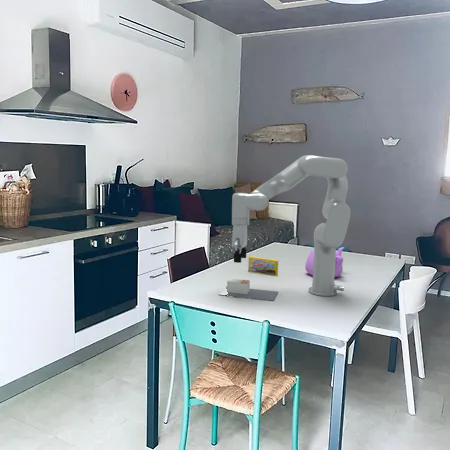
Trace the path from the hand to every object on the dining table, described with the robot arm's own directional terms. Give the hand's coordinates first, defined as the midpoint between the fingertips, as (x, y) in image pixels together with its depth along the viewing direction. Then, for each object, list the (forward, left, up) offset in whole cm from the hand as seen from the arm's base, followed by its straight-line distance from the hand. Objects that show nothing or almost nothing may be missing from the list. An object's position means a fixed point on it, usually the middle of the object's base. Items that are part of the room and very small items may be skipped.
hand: (240, 260), depth 203 cm
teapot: (-35, -47, -15) cm, 60 cm away
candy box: (-4, -39, -15) cm, 42 cm away
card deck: (0, 0, -14) cm, 14 cm away
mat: (-5, 0, -15) cm, 15 cm away
